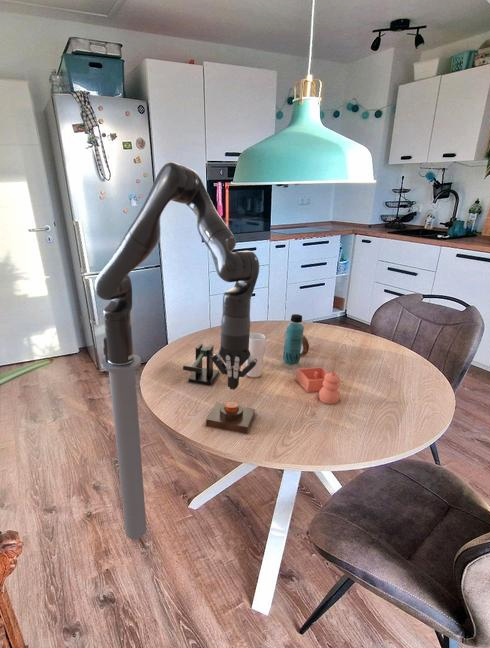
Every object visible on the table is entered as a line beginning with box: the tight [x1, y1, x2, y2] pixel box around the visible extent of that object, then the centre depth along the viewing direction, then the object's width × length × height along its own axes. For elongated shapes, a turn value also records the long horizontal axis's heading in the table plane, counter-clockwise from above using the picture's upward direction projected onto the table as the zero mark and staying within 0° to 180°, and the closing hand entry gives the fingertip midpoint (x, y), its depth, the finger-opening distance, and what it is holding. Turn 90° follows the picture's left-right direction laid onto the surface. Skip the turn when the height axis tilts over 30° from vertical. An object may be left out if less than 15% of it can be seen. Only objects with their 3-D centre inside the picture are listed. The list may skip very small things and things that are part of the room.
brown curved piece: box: [284, 332, 310, 356], centre depth 159 cm, size 15×3×8 cm, turn 22°
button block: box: [205, 401, 256, 435], centre depth 112 cm, size 12×10×4 cm
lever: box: [182, 345, 210, 373], centre depth 128 cm, size 14×6×2 cm, turn 164°
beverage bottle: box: [282, 313, 305, 366], centre depth 144 cm, size 6×7×20 cm
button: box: [224, 400, 239, 413], centre depth 111 cm, size 4×4×2 cm
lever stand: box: [188, 343, 220, 386], centre depth 134 cm, size 10×8×12 cm
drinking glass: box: [245, 332, 267, 378], centre depth 137 cm, size 7×7×15 cm
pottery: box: [295, 366, 341, 405], centre depth 129 cm, size 18×10×10 cm, turn 14°
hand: (233, 388), depth 108 cm, fingers closed
